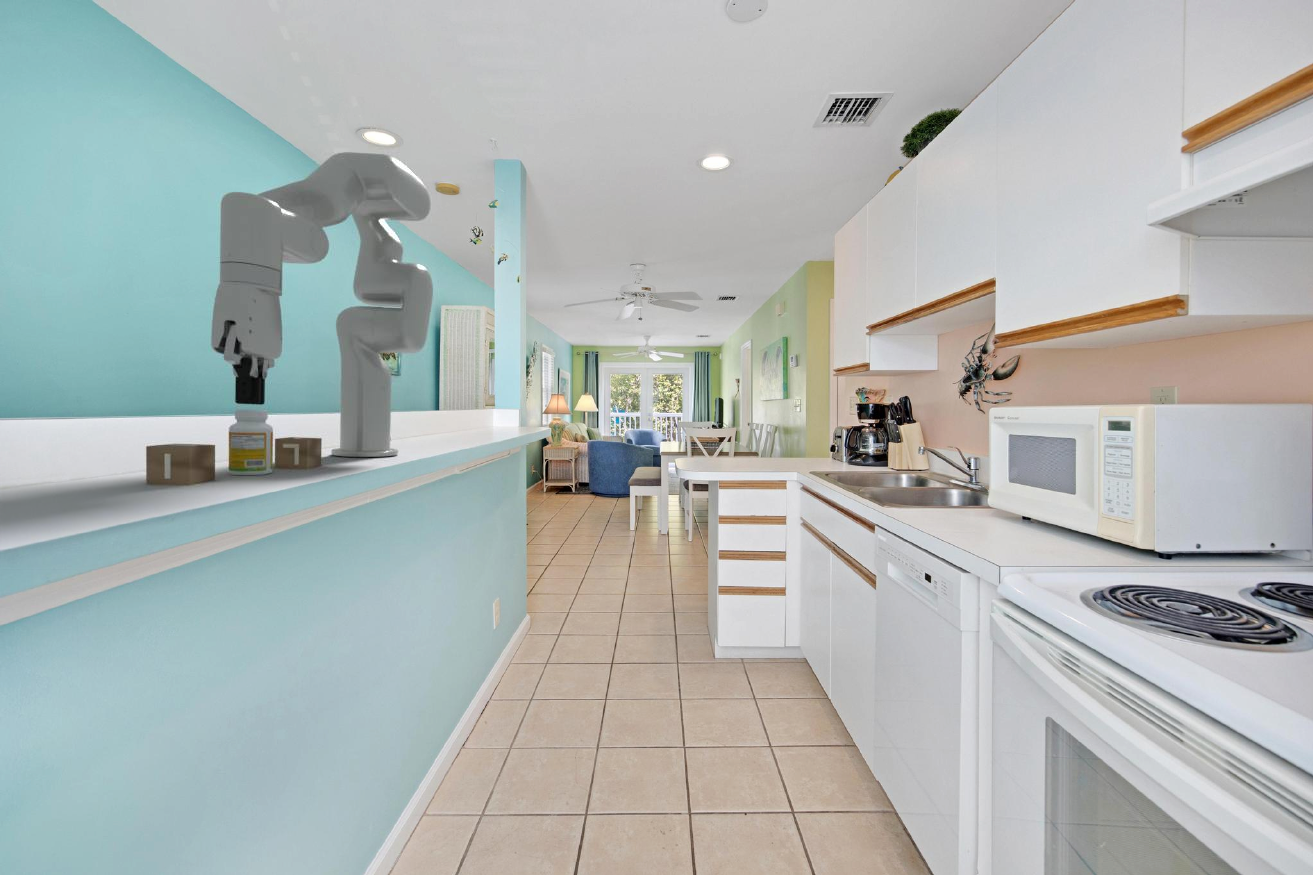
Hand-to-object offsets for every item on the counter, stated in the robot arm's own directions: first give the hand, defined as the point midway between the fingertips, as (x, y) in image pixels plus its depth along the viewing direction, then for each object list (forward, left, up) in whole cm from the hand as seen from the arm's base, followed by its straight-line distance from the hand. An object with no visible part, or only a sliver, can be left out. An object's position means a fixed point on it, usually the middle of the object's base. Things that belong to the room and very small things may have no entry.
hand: (250, 403), depth 82 cm
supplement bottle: (0, 0, -11) cm, 11 cm away
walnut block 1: (+10, -3, -11) cm, 15 cm away
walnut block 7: (-10, +2, -11) cm, 15 cm away
